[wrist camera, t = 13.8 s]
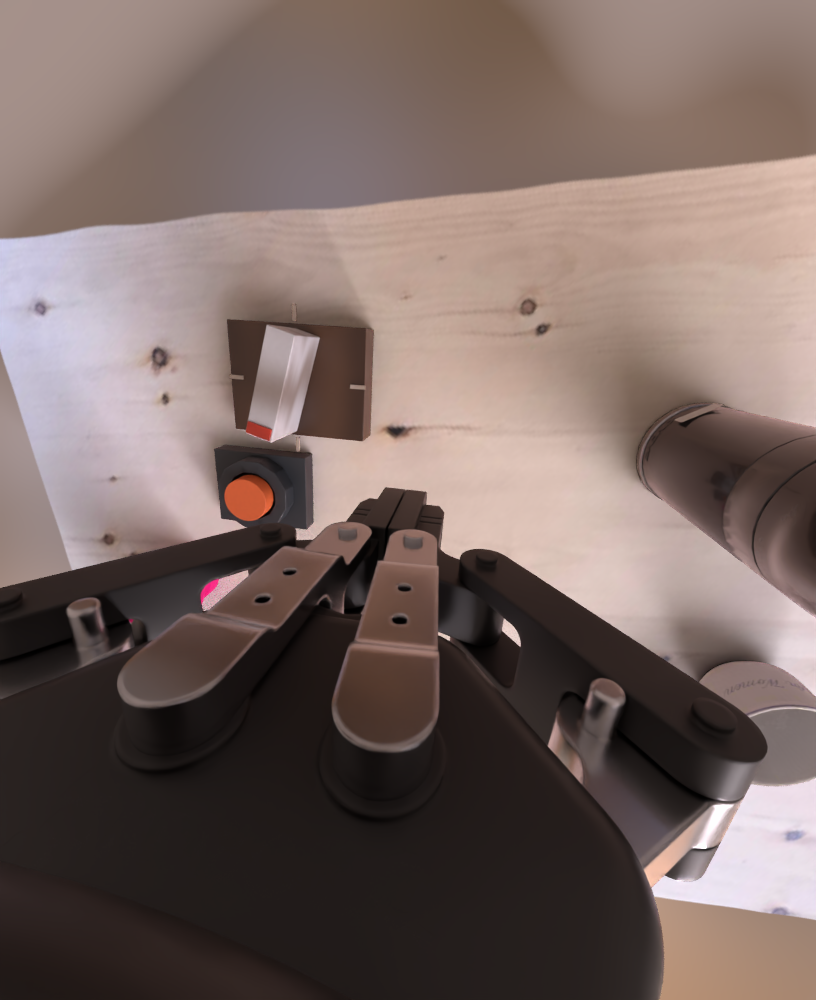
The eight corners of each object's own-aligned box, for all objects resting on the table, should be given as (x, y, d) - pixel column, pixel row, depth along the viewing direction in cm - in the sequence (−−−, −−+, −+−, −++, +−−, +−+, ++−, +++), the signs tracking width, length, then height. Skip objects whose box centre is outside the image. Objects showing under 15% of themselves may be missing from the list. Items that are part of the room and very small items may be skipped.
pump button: (272, 476, 41) (264, 481, 39) (275, 516, 43) (267, 523, 41) (231, 472, 42) (222, 477, 40) (235, 512, 43) (226, 518, 42)
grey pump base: (312, 453, 43) (297, 463, 40) (313, 522, 46) (299, 537, 43) (224, 444, 45) (202, 453, 41) (231, 512, 47) (210, 525, 44)
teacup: (811, 664, 43) (881, 730, 36) (753, 735, 47) (805, 806, 40) (681, 624, 44) (723, 680, 36) (634, 696, 48) (664, 760, 40)
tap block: (375, 311, 38) (367, 308, 35) (370, 450, 42) (363, 458, 39) (241, 303, 39) (223, 299, 36) (251, 438, 44) (235, 444, 41)
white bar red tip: (295, 327, 36) (264, 323, 31) (320, 337, 36) (293, 334, 31) (274, 422, 40) (243, 433, 34) (297, 431, 40) (269, 443, 34)
